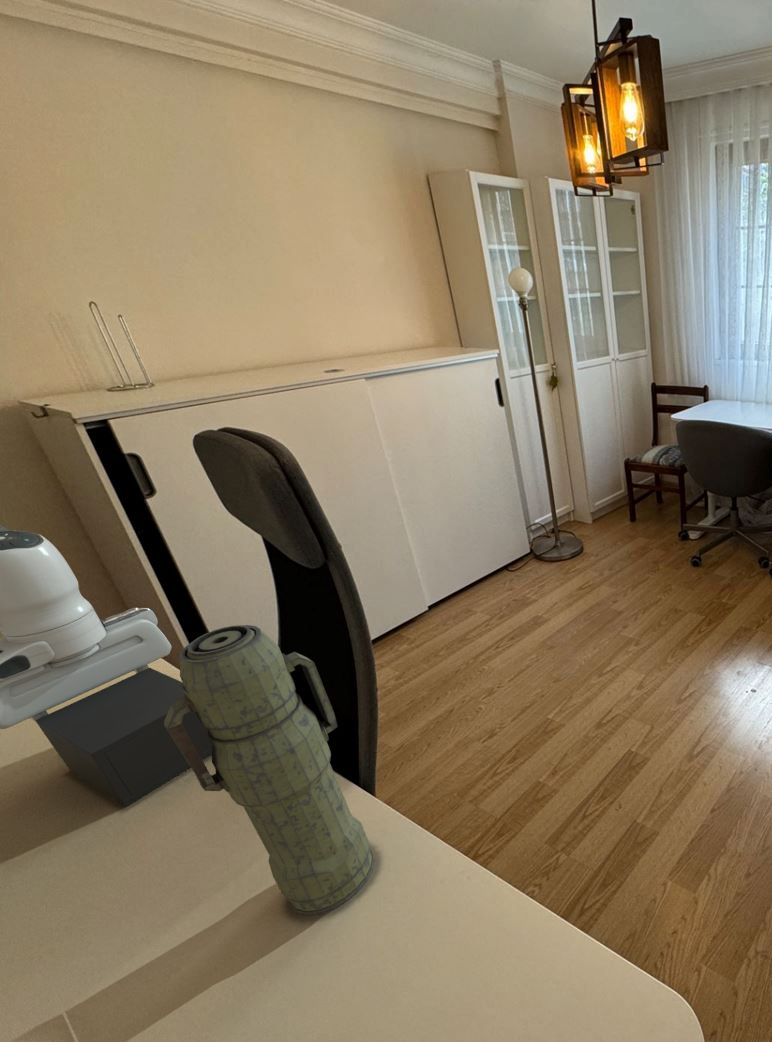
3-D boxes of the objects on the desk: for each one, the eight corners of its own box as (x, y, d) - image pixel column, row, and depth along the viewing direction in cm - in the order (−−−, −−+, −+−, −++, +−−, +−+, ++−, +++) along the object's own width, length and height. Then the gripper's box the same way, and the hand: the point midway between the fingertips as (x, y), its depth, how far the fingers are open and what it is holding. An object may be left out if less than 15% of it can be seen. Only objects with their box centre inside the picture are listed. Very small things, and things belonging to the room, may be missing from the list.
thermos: (259, 902, 65) (118, 658, 50) (362, 825, 74) (268, 599, 59) (296, 944, 60) (153, 691, 46) (400, 857, 69) (310, 622, 55)
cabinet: (70, 771, 83) (34, 720, 79) (176, 715, 94) (149, 667, 89) (126, 807, 77) (90, 753, 73) (231, 742, 88) (206, 692, 83)
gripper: (138, 598, 91) (173, 666, 96) (-58, 671, 74) (0, 748, 79) (159, 606, 88) (194, 675, 94) (-38, 683, 71) (20, 762, 77)
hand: (104, 709), depth 87 cm, fingers open, 8 cm apart
